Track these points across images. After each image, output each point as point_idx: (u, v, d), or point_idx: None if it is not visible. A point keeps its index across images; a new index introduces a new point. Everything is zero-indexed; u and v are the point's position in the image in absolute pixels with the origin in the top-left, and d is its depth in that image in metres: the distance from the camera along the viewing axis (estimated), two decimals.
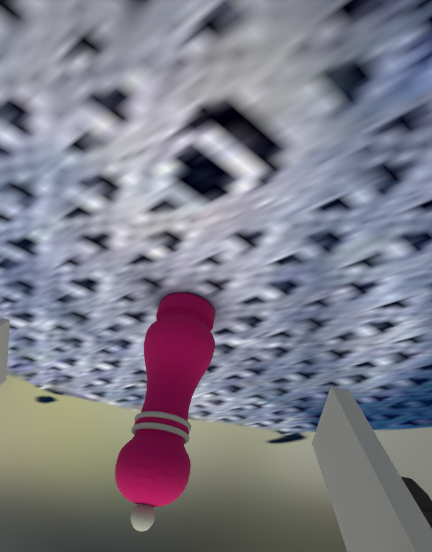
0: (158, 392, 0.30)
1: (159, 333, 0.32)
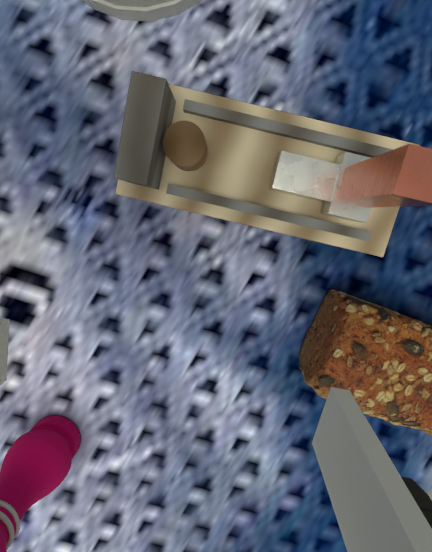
0: None
1: (11, 446, 0.38)
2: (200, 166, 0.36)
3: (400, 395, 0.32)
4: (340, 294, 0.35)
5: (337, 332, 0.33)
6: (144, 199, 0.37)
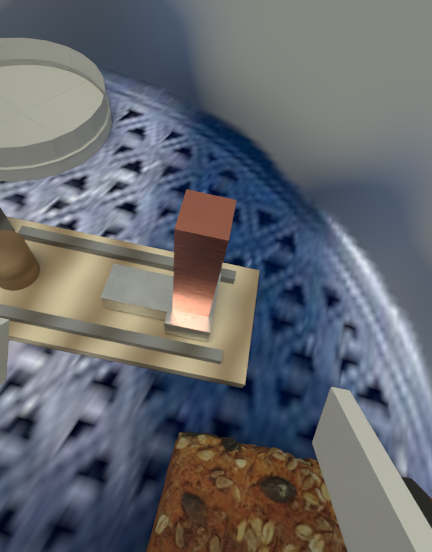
0: None
1: None
2: (27, 285, 0.32)
3: None
4: None
5: (165, 488, 0.20)
6: None
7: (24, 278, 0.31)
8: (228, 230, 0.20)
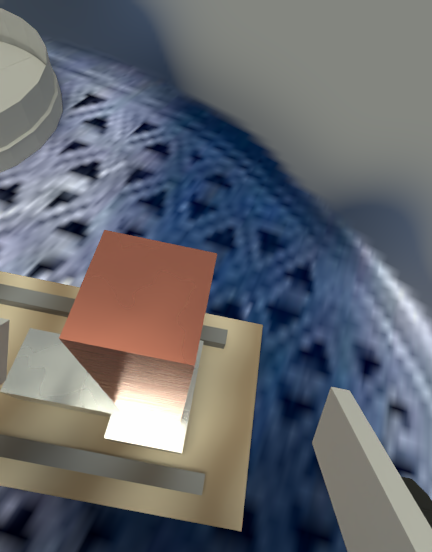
0: None
1: None
2: None
3: None
4: None
5: None
6: None
7: None
8: (195, 335, 0.08)
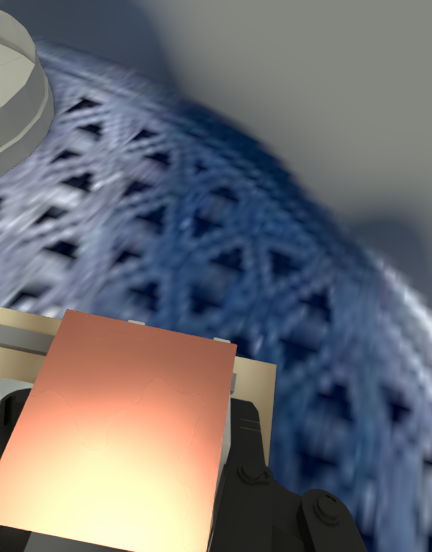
0: None
1: None
2: None
3: None
4: None
5: None
6: None
7: None
8: (205, 501, 0.05)
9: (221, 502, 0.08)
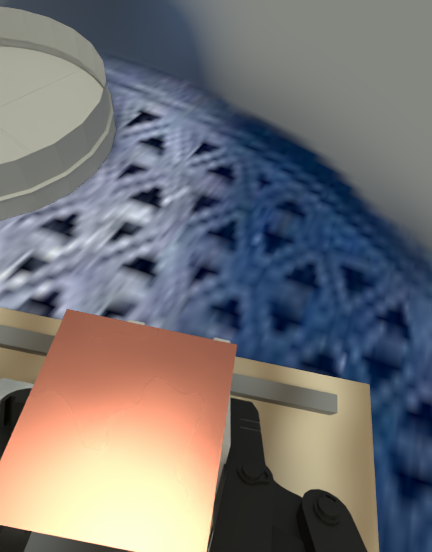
0: None
1: None
2: None
3: None
4: None
5: None
6: None
7: None
8: (205, 500, 0.05)
9: (221, 502, 0.08)
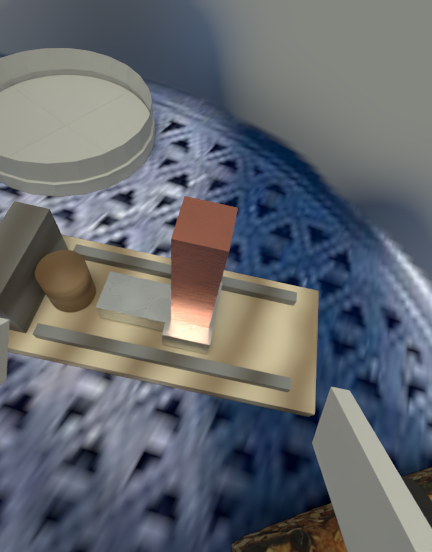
0: None
1: None
2: (90, 300, 0.31)
3: None
4: None
5: None
6: None
7: (89, 293, 0.30)
8: (229, 240, 0.19)
9: None
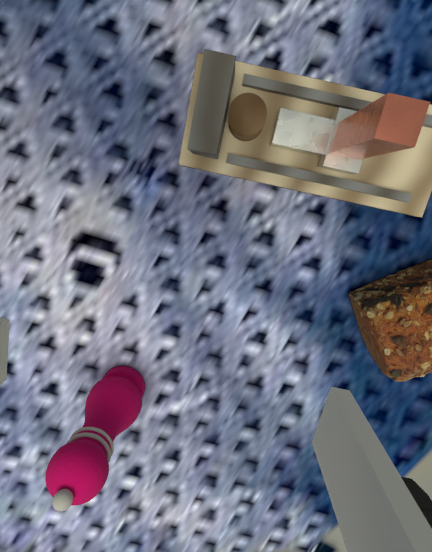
0: (86, 422, 0.40)
1: (91, 390, 0.44)
2: None
3: None
4: (356, 301, 0.41)
5: (375, 335, 0.38)
6: (204, 168, 0.40)
7: None
8: (416, 136, 0.26)
9: None
